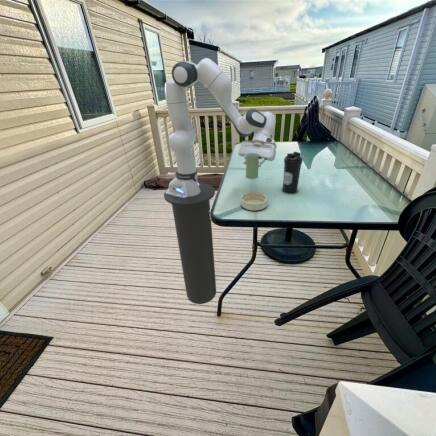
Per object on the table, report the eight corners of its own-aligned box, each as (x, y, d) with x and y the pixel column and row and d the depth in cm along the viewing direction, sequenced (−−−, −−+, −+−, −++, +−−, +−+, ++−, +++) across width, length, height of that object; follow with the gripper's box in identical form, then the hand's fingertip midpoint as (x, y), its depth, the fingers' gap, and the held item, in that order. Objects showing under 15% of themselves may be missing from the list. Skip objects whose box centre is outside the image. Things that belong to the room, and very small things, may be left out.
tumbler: (244, 178, 130) (244, 156, 123) (247, 174, 135) (247, 152, 129) (256, 179, 128) (257, 156, 121) (259, 175, 133) (260, 153, 127)
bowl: (238, 209, 130) (238, 202, 128) (244, 198, 142) (244, 191, 140) (264, 213, 126) (264, 205, 124) (269, 201, 138) (269, 193, 136)
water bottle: (277, 190, 150) (280, 153, 138) (288, 185, 155) (292, 149, 143) (291, 195, 143) (295, 157, 131) (301, 190, 148) (307, 153, 136)
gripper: (241, 136, 131) (232, 159, 129) (277, 140, 122) (268, 165, 120) (244, 143, 137) (236, 165, 135) (279, 147, 128) (271, 171, 126)
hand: (251, 165), depth 127 cm, fingers closed on tumbler, 6 cm apart
